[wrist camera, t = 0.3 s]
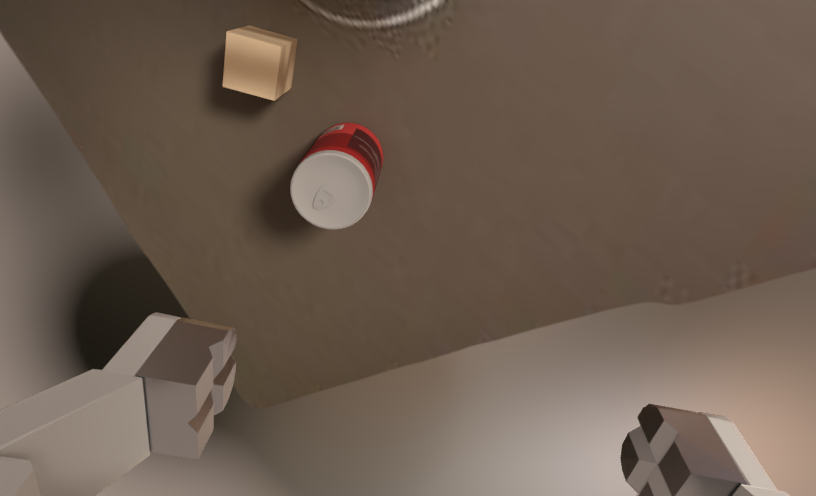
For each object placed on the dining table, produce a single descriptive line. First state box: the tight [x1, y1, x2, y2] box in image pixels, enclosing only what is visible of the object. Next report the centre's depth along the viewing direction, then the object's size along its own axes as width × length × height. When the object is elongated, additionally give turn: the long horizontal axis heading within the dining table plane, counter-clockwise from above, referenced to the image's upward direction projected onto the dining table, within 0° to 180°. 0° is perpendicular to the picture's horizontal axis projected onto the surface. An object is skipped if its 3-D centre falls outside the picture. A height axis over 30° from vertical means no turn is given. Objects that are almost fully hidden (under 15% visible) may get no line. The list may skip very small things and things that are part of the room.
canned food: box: [290, 123, 383, 229], centre depth 51 cm, size 8×8×11 cm
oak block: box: [223, 25, 298, 101], centre depth 49 cm, size 5×5×6 cm
